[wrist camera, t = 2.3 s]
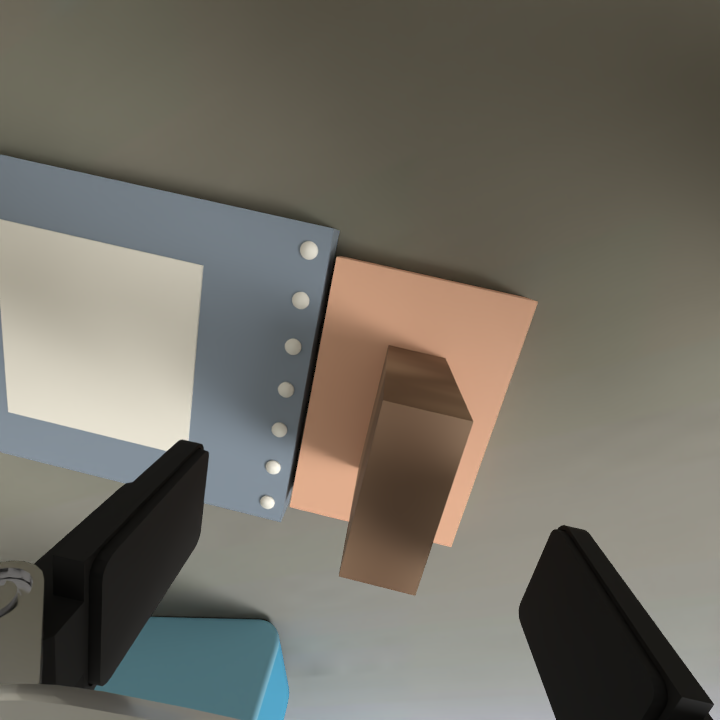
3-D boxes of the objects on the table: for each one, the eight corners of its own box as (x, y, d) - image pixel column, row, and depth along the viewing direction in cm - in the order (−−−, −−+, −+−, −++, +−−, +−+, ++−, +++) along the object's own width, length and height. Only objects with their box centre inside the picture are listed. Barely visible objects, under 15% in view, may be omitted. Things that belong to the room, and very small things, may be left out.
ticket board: (339, 230, 16) (333, 228, 14) (288, 502, 20) (280, 523, 18) (-17, 151, 16) (-59, 141, 15) (5, 432, 20) (-26, 447, 19)
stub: (525, 297, 16) (629, 335, 9) (447, 525, 19) (476, 685, 12) (341, 255, 16) (297, 260, 9) (297, 488, 20) (240, 624, 13)
